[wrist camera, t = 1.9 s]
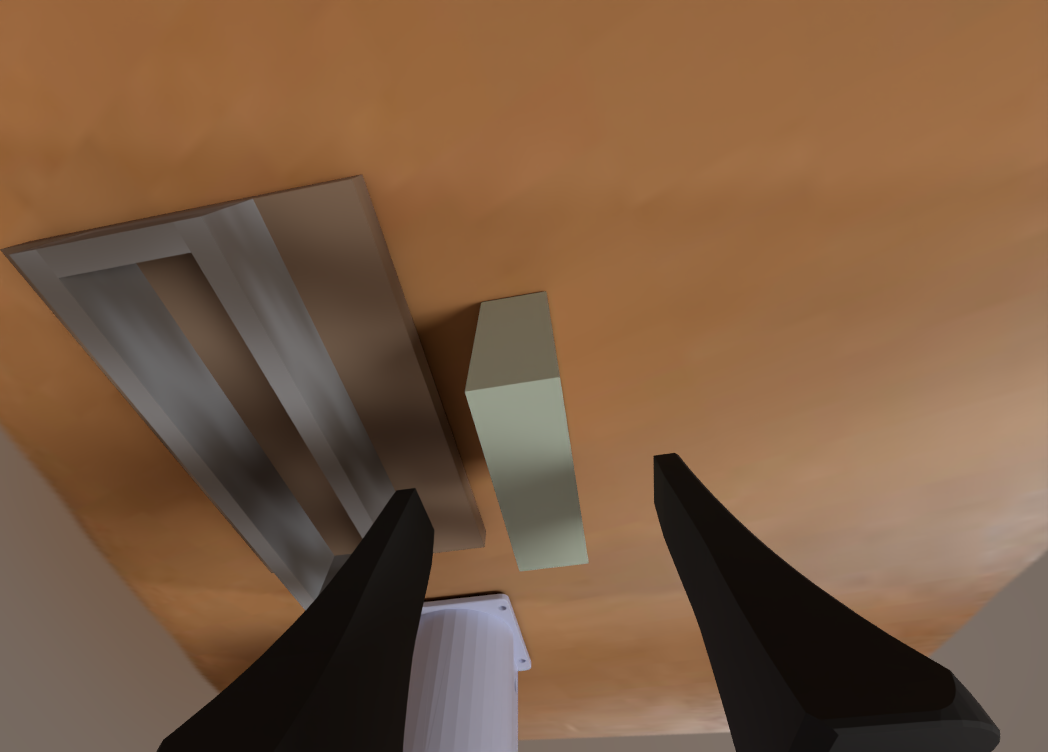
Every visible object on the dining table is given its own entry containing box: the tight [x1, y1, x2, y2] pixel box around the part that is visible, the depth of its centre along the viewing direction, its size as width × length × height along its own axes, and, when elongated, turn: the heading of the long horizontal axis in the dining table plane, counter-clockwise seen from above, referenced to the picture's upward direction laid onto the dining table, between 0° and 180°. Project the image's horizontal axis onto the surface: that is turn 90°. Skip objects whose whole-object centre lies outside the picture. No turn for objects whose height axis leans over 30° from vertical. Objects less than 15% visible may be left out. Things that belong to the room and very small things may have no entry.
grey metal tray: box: [0, 175, 486, 611], centre depth 17 cm, size 18×12×4 cm, turn 10°
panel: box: [465, 291, 588, 571], centre depth 16 cm, size 8×2×6 cm, turn 10°
